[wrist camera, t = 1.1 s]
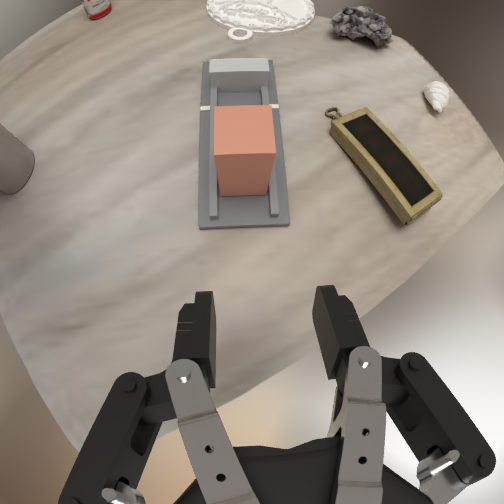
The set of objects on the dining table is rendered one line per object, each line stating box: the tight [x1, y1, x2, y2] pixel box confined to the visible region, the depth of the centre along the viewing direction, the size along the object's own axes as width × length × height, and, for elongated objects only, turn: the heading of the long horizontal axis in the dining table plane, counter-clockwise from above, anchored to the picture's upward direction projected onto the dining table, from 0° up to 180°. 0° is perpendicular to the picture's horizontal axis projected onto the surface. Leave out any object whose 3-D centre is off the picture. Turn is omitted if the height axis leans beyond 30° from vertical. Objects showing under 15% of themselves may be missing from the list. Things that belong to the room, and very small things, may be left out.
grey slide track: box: [199, 58, 290, 229], centre depth 40 cm, size 30×12×6 cm, turn 3°
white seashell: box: [424, 81, 450, 113], centre depth 44 cm, size 6×6×5 cm
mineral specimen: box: [330, 6, 393, 48], centre depth 46 cm, size 13×10×11 cm
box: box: [325, 107, 442, 226], centre depth 42 cm, size 8×22×5 cm, turn 32°
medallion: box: [207, 0, 315, 44], centre depth 49 cm, size 24×27×2 cm
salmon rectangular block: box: [214, 105, 276, 197], centre depth 35 cm, size 6×6×12 cm
